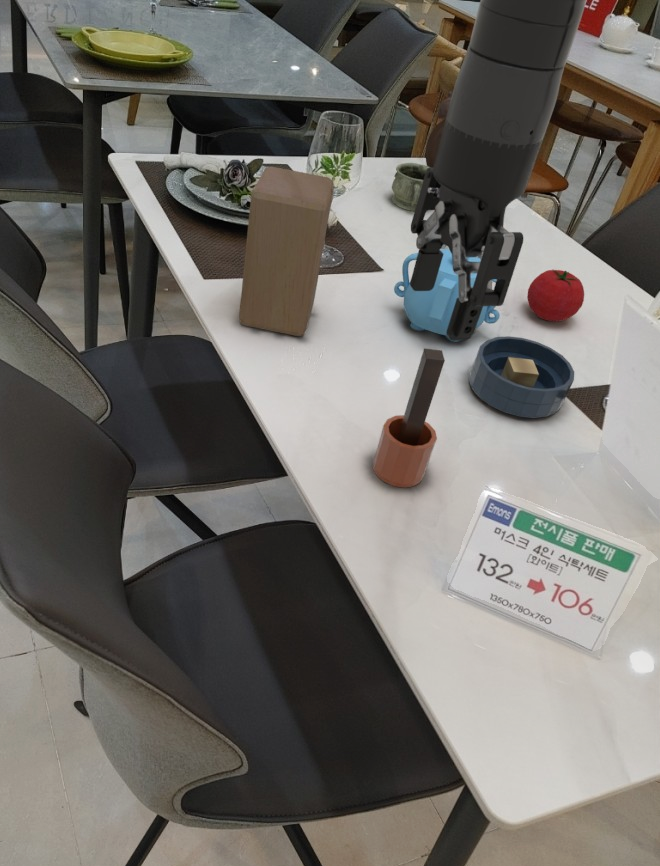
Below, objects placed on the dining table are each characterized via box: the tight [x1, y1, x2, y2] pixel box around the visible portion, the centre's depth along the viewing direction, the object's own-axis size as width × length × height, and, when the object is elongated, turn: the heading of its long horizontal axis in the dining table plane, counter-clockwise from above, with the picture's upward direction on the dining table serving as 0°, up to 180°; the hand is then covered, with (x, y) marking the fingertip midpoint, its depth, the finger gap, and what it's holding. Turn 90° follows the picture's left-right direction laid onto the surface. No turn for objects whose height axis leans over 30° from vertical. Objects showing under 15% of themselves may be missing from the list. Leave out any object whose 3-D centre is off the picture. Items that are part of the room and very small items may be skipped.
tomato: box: [526, 268, 585, 323], centre depth 123 cm, size 9×9×8 cm
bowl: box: [468, 335, 575, 419], centre depth 107 cm, size 13×13×5 cm
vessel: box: [391, 162, 430, 212], centre depth 151 cm, size 12×9×6 cm
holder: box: [372, 414, 438, 488], centre depth 91 cm, size 6×6×6 cm
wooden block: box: [238, 165, 335, 337], centre depth 108 cm, size 10×10×20 cm
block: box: [501, 357, 539, 388], centre depth 107 cm, size 4×4×4 cm
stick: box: [397, 348, 446, 446], centre depth 87 cm, size 2×2×16 cm
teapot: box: [393, 249, 500, 343], centre depth 116 cm, size 20×17×12 cm
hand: (438, 312), depth 69 cm, fingers open, 8 cm apart
